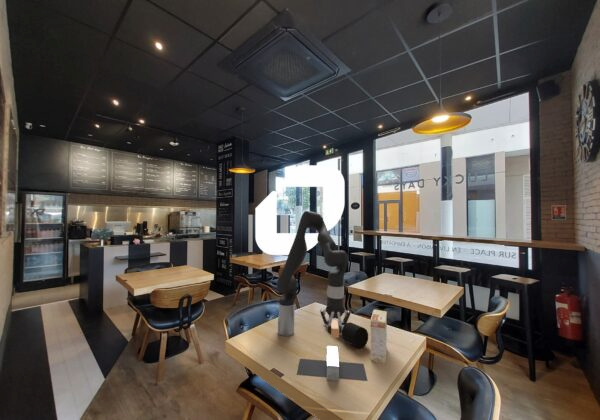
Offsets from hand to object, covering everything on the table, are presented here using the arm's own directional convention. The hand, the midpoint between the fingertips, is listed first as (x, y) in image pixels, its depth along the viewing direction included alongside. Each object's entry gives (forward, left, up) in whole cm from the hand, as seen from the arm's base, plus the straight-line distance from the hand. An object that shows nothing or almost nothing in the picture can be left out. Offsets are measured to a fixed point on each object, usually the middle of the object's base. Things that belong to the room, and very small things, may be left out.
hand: (334, 333), depth 110 cm
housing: (-1, 0, -16) cm, 16 cm away
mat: (-1, 0, -17) cm, 17 cm away
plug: (0, +4, 0) cm, 4 cm away
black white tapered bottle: (+5, +34, -17) cm, 38 cm away
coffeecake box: (+23, +16, -17) cm, 33 cm away
